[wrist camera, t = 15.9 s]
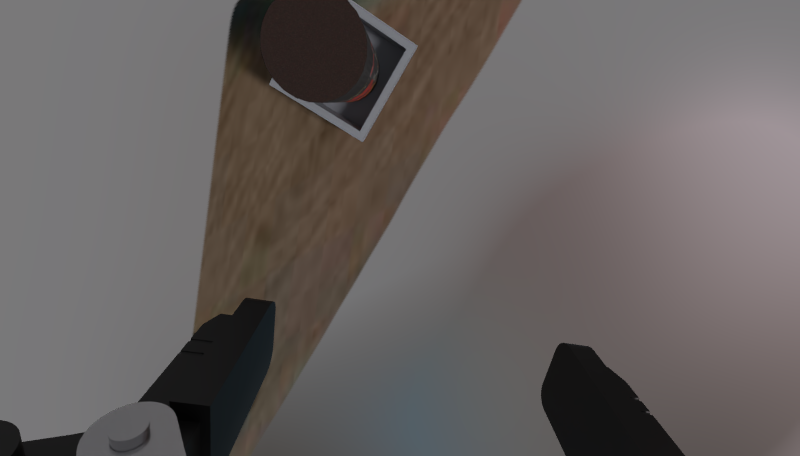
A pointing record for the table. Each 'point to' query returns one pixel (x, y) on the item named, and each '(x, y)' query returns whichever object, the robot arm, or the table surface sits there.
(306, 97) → the deodorant
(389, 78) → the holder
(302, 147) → the table surface
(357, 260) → the table surface
